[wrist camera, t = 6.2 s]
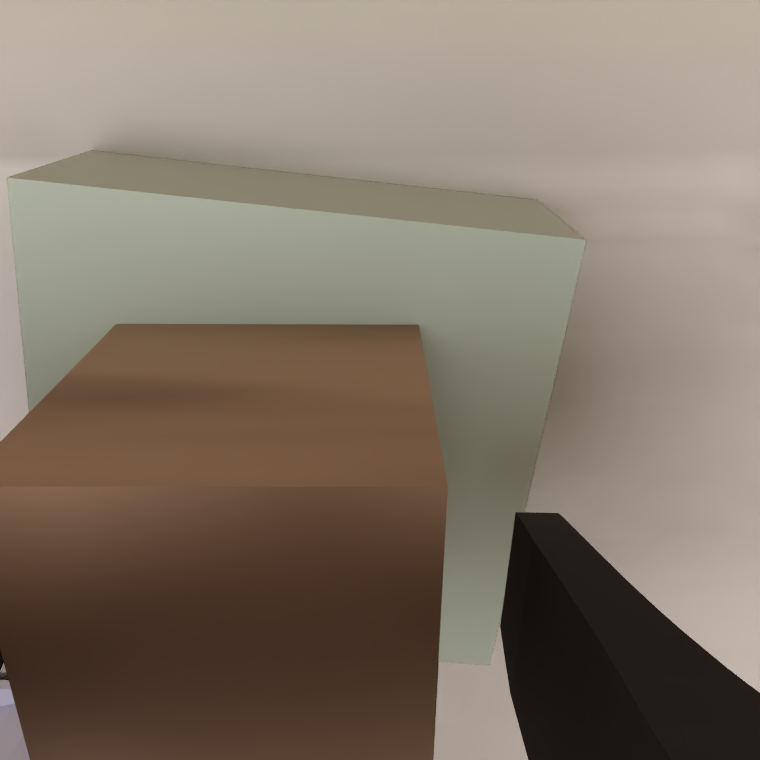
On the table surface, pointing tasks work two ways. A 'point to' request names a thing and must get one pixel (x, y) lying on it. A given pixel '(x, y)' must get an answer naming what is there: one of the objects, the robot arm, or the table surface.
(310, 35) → the table surface
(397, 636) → the walnut cube
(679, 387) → the table surface
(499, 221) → the sage block
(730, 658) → the table surface
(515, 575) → the robot arm
